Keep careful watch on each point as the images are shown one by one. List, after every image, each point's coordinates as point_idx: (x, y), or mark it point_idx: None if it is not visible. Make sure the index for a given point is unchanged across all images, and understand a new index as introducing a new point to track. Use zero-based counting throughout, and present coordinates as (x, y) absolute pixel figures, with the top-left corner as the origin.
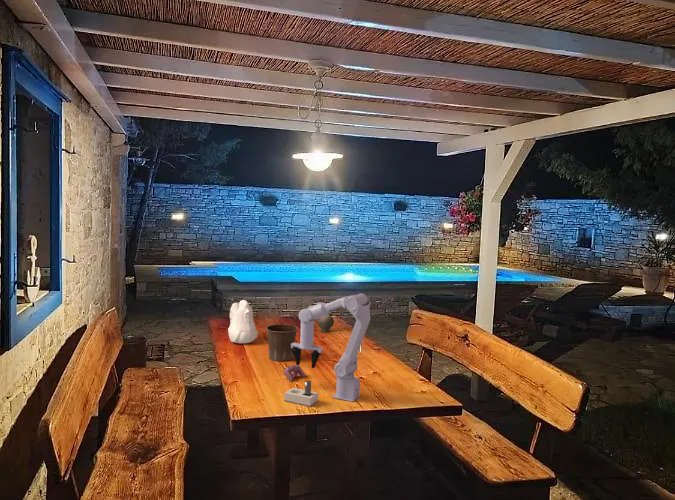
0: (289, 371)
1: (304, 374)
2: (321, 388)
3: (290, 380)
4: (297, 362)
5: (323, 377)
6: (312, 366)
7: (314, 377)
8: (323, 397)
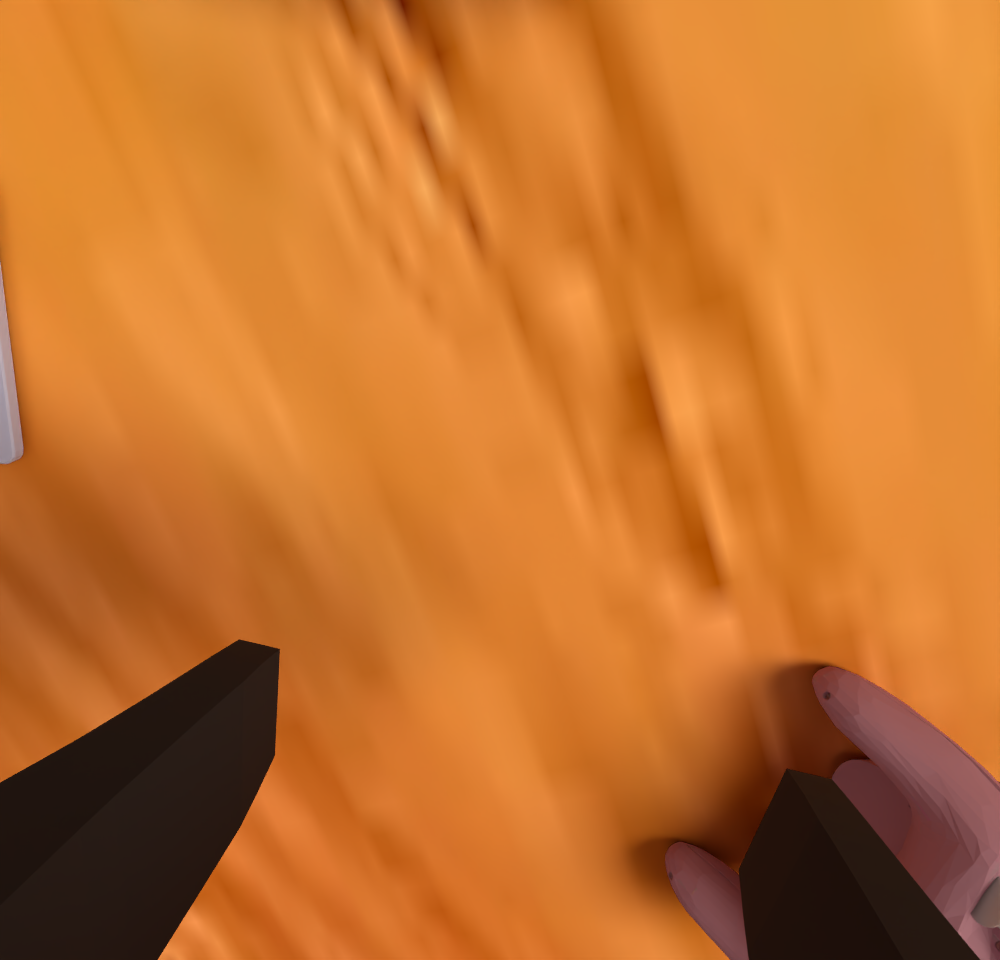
0: (939, 835)
1: (675, 874)
2: (310, 522)
3: (846, 671)
4: (828, 853)
5: (439, 875)
6: (220, 669)
7: (542, 858)
8: (114, 143)
